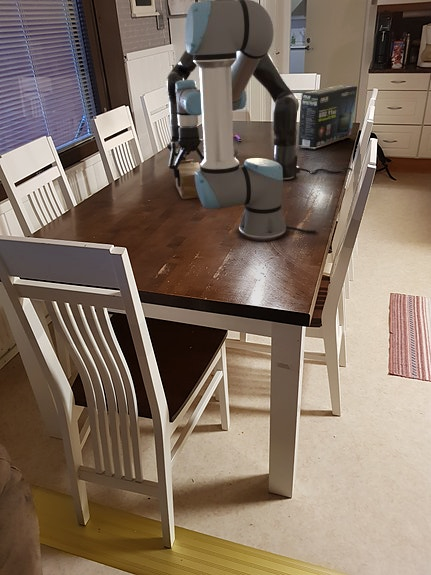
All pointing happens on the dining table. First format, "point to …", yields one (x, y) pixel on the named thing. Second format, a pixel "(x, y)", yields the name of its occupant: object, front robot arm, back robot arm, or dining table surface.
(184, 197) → the tan wooden block
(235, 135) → the handgun
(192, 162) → the drawer
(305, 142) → the router box
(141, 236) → the dining table surface
